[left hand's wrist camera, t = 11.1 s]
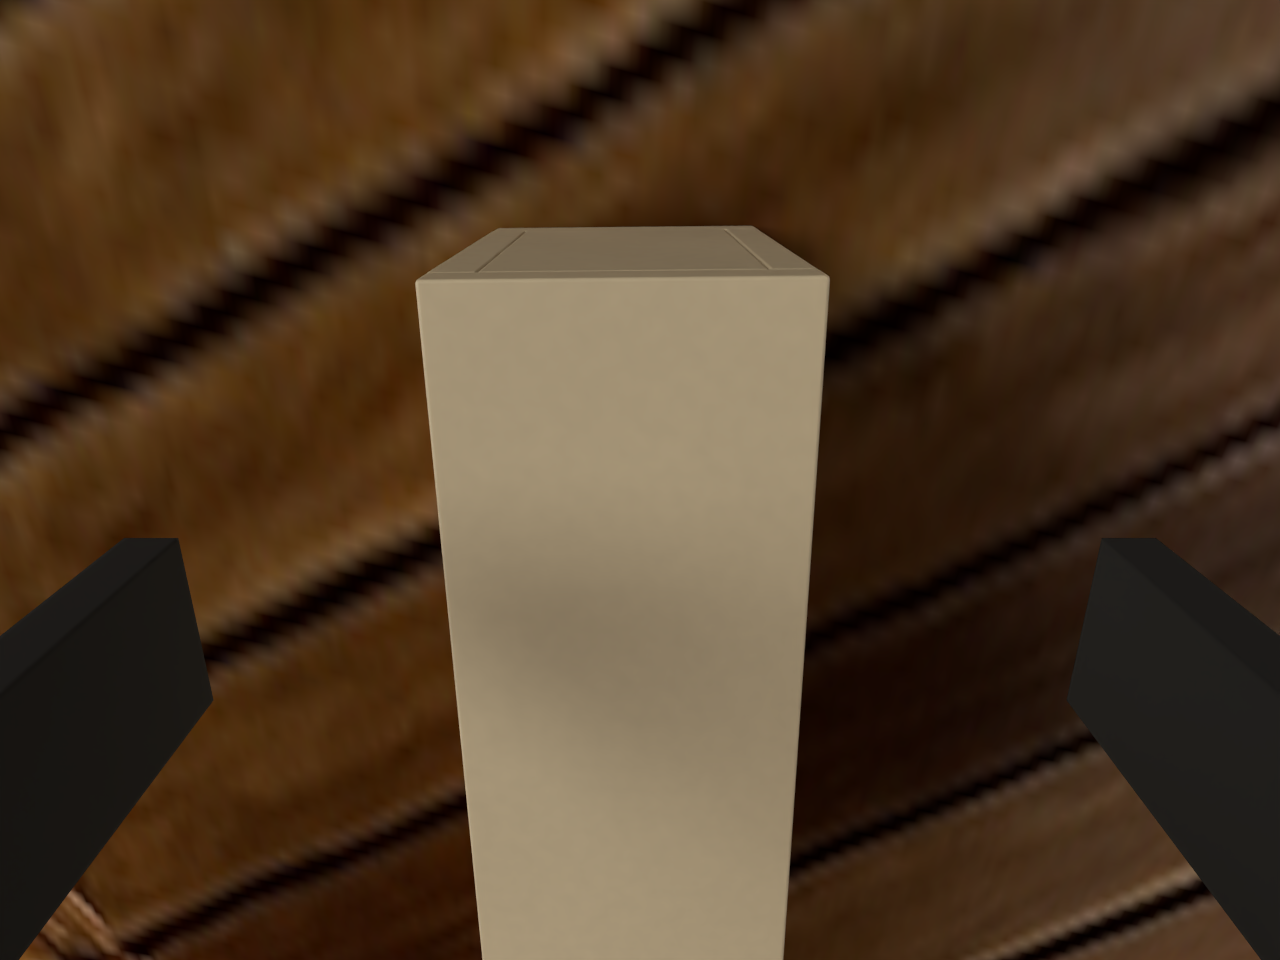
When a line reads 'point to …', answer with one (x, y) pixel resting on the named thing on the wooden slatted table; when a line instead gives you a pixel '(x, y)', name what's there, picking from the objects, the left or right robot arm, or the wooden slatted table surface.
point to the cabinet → (627, 578)
